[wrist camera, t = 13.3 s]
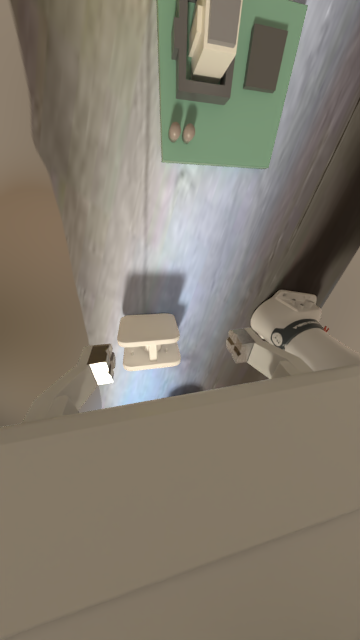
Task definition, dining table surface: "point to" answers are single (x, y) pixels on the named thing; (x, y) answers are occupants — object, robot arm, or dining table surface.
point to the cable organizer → (149, 341)
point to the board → (226, 86)
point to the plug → (213, 38)
